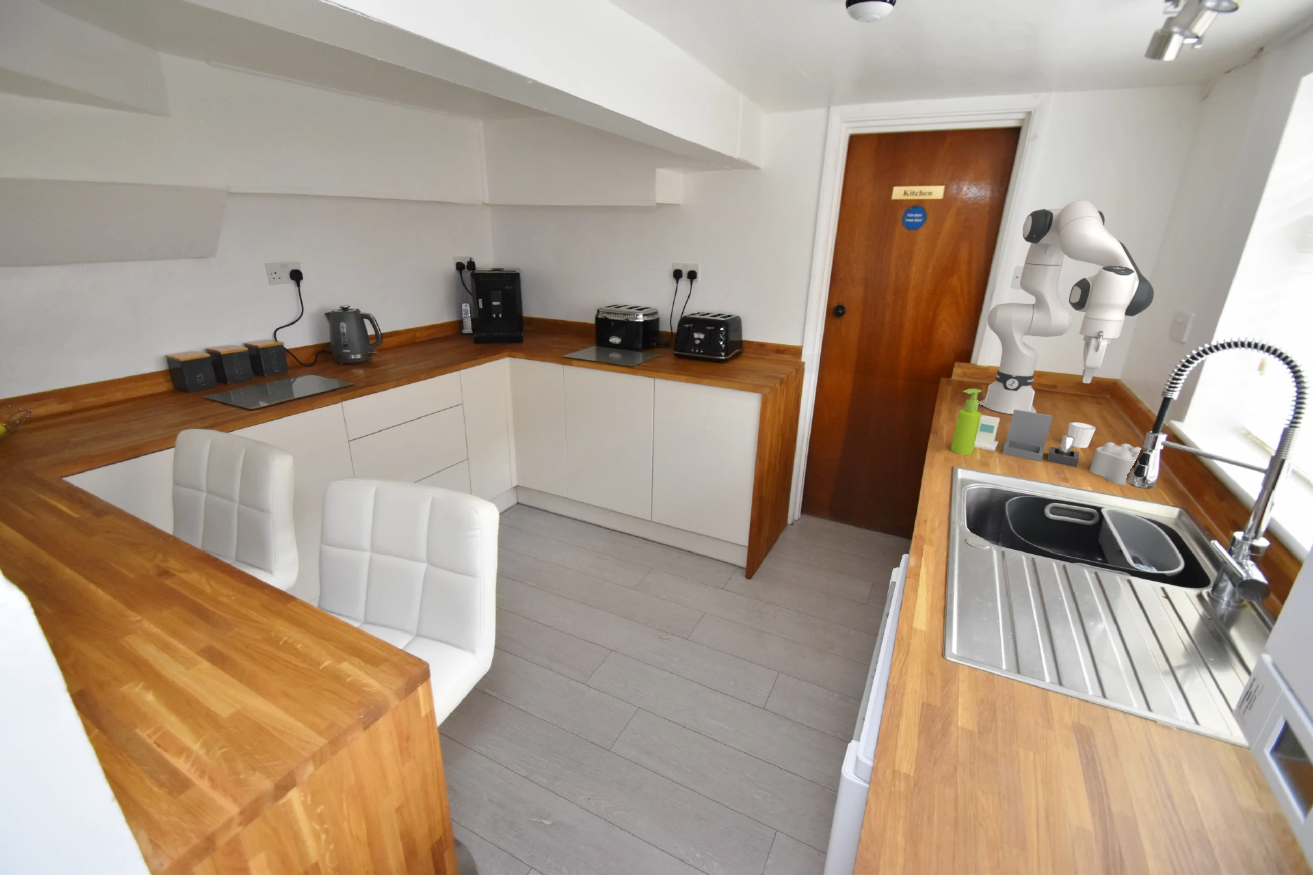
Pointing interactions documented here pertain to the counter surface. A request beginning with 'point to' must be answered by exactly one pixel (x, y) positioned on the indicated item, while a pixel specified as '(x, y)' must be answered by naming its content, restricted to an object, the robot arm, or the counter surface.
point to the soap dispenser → (967, 425)
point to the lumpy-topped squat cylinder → (1114, 461)
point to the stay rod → (1066, 445)
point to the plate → (987, 446)
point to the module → (987, 430)
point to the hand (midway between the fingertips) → (1085, 379)
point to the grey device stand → (1027, 435)
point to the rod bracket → (1063, 457)
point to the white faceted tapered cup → (1081, 433)
